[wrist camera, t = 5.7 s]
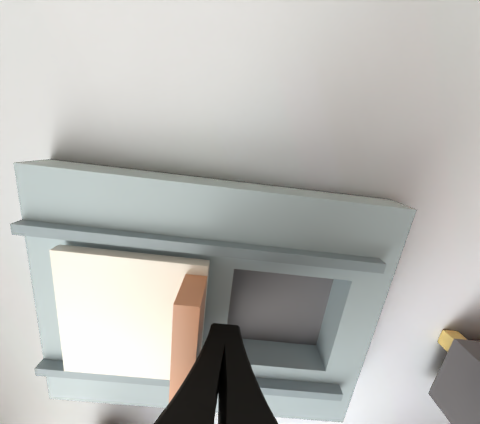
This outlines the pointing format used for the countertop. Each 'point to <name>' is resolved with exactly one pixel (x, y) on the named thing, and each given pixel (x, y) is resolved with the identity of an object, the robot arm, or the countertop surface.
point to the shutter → (129, 312)
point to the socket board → (226, 272)
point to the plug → (458, 379)
